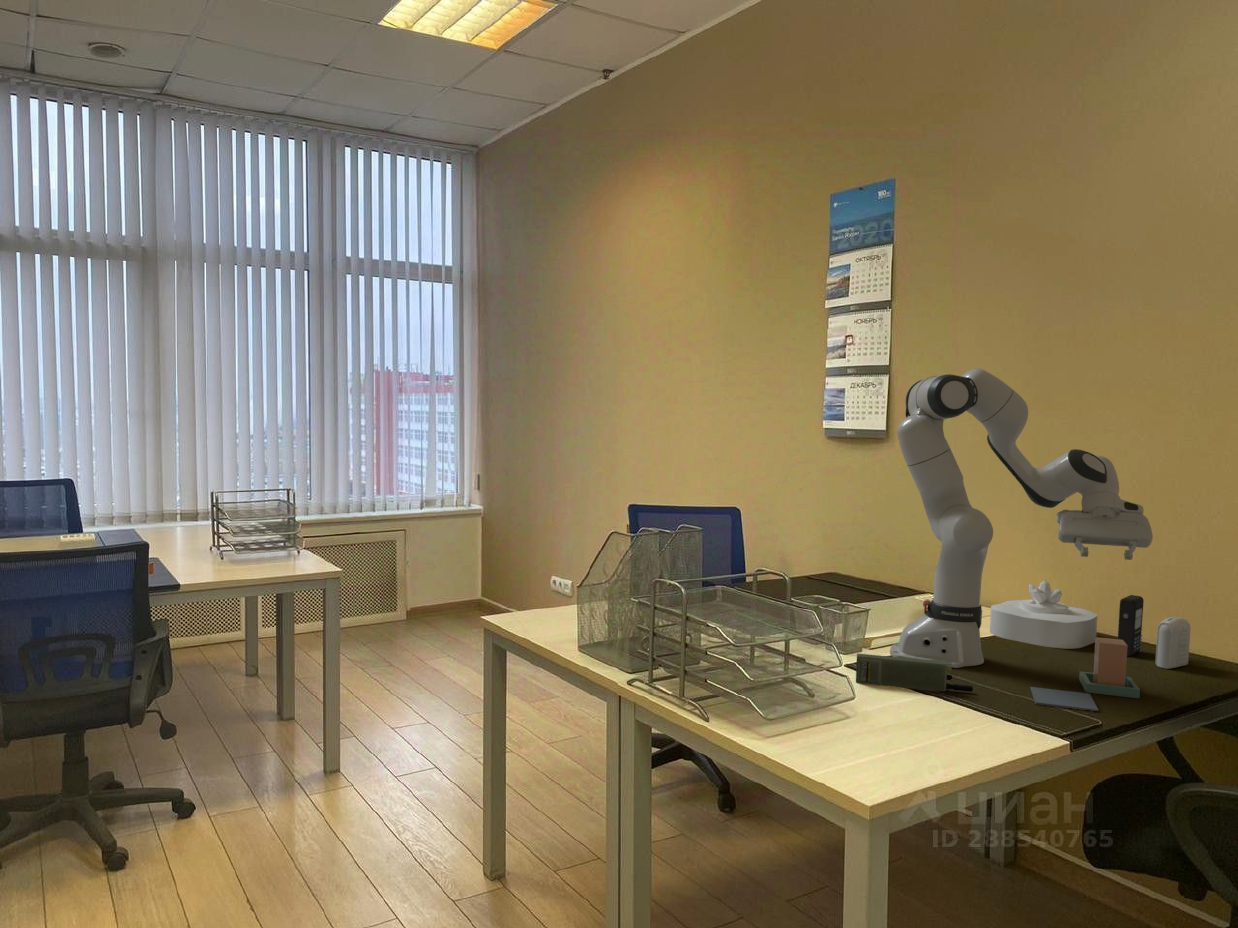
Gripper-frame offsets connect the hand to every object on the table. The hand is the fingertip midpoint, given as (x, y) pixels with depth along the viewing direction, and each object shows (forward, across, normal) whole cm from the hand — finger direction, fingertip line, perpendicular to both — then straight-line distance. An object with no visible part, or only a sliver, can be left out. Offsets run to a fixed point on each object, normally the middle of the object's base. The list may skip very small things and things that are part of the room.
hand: (1106, 556), depth 218 cm
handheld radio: (+42, -42, -1) cm, 60 cm away
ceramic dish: (+29, 0, +11) cm, 31 cm away
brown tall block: (+29, 0, +11) cm, 31 cm away
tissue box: (-6, -9, +48) cm, 49 cm away
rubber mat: (+39, -11, +2) cm, 40 cm away
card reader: (+2, +11, +39) cm, 41 cm away
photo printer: (+8, +19, +33) cm, 39 cm away
